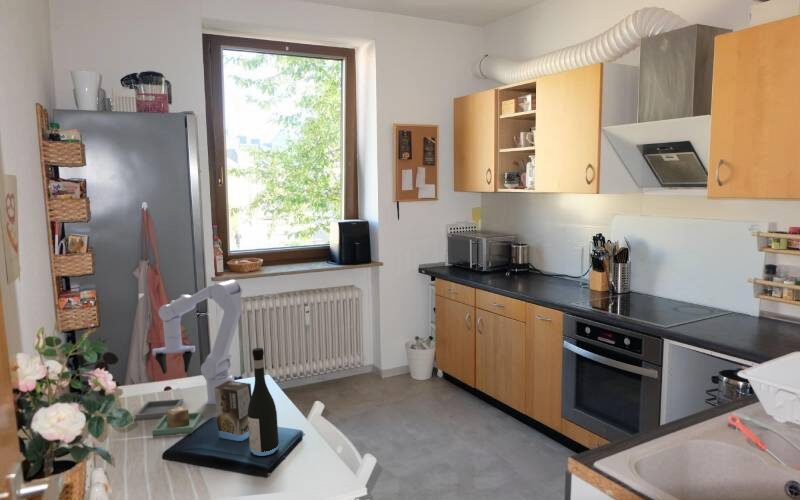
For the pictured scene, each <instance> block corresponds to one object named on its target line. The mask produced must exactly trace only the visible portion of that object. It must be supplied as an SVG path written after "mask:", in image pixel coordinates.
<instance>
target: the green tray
mask: <svg viewBox="0 0 800 500" xmlns="http://www.w3.org/2000/svg"><path fill="white" fill-rule="evenodd" d="M202 419H203V411H198V412H197V411H196V412H189V425H187V426H184V427H176V428H170V427H169V426H167V416H166V415H164V416H163V417H162V418H160V420H159V421H158V422H157V424H156V425H155V426H154V427H153V428H152V431H151V432H152V437H153V438H155V437H166V436H177V435H189V433H191V432H192V431H194V432H195V430H196V428H197V427H198V425H199V423H200V421H201V420H202ZM191 434H192V433H191Z"/></svg>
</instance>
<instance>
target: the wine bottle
mask: <svg viewBox="0 0 800 500" xmlns="http://www.w3.org/2000/svg"><path fill="white" fill-rule="evenodd" d="M264 354H265V353H264V348H262V347H256V348H253V349H252V357H253V369H254V385H253V390H252V392H251V399H250V402H249V406H248V428H249V438H248V442H249V449H250V448H251V449H252V450H254V451H257V452H264V451H265V452H266V451H270V450H272V449H274V448H276V447H277V446H278V444H279V445H280V443H279V441H280V439H279V431H278V429H279V427H278V425H279V424H278V412H277V408H276V402H275V400H274V398H273V396H272V395H271V394H272V393H271V392H270V391H269V388H268V385H267V383H266V378H265V365H264V362H265V361H264Z"/></svg>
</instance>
